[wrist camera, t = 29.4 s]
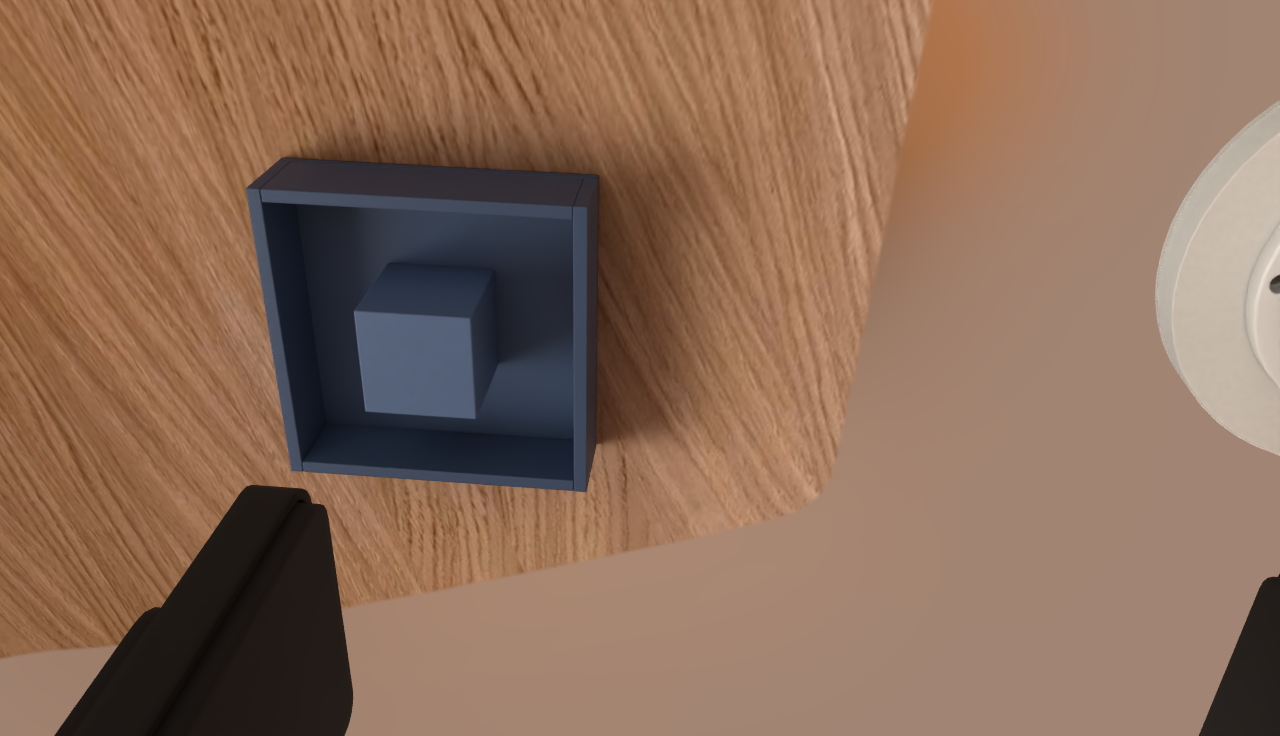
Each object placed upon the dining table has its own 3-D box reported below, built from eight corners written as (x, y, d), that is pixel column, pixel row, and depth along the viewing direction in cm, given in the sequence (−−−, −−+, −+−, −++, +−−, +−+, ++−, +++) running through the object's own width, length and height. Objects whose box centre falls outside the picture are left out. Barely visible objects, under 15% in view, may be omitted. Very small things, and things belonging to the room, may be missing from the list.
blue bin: (598, 174, 47) (587, 207, 43) (596, 445, 54) (586, 492, 50) (281, 157, 47) (245, 188, 44) (319, 426, 54) (291, 471, 51)
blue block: (494, 269, 49) (470, 318, 44) (498, 364, 51) (476, 419, 47) (387, 262, 49) (353, 310, 45) (396, 358, 51) (364, 412, 47)
